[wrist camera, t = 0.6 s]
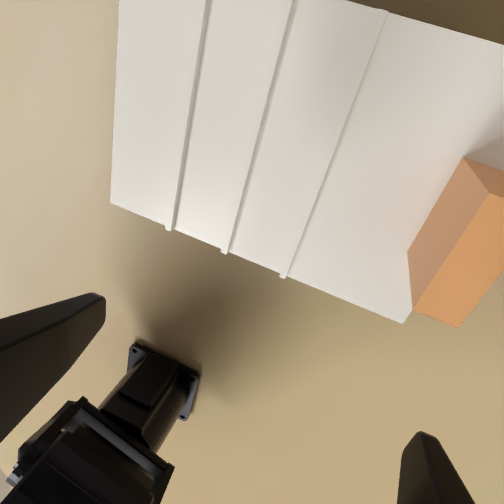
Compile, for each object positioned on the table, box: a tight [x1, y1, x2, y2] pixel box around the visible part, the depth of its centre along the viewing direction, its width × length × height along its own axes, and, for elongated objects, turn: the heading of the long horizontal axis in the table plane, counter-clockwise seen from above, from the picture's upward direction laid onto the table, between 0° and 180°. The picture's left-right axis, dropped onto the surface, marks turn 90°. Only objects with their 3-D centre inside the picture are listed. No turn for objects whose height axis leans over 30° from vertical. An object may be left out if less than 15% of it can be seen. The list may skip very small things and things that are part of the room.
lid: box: [110, 0, 504, 328], centre depth 13 cm, size 11×15×5 cm
